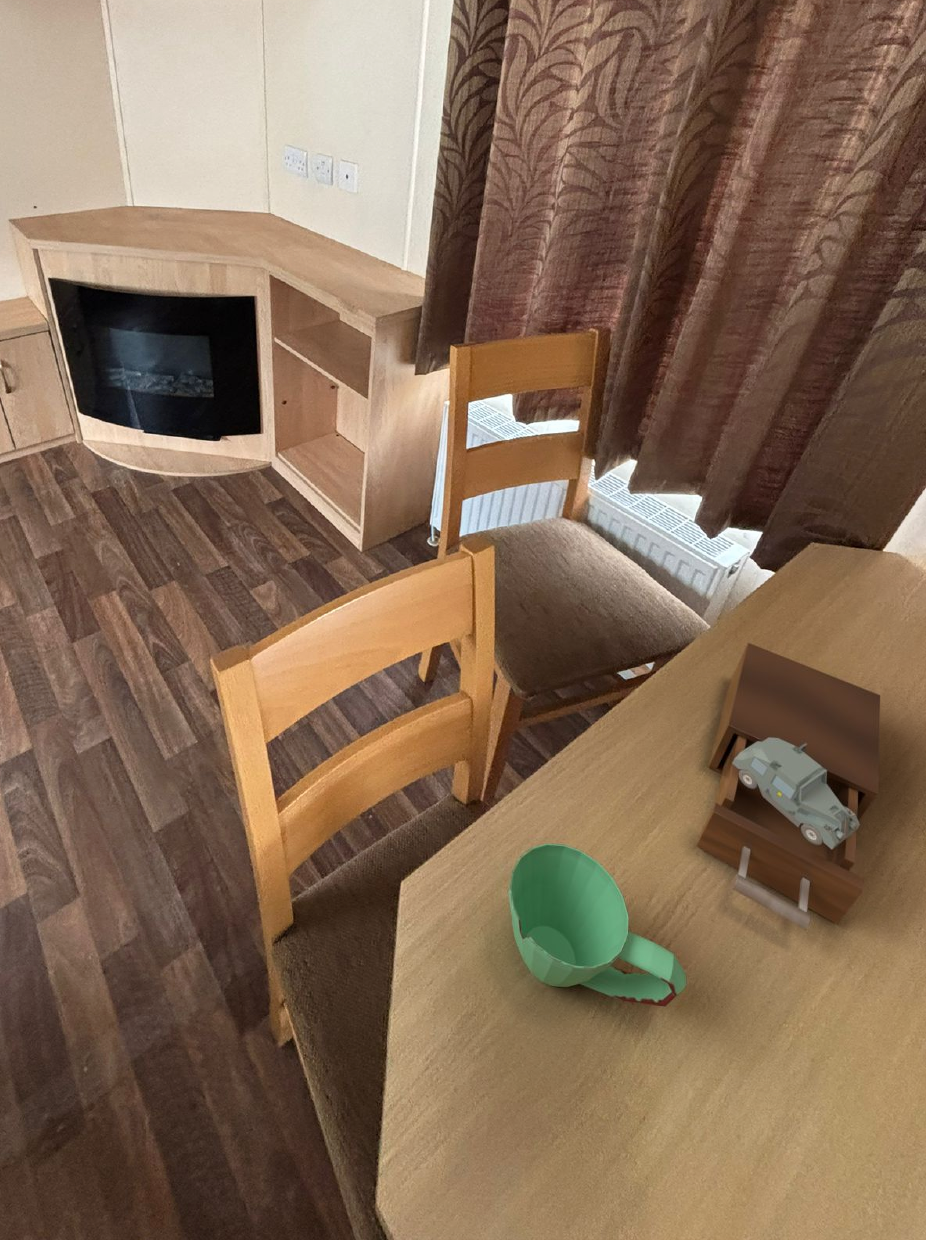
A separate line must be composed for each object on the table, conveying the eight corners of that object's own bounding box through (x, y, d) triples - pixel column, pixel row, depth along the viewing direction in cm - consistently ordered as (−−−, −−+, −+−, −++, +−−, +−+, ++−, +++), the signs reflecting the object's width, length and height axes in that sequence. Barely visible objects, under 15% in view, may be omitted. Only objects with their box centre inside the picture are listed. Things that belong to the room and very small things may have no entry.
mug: (480, 977, 62) (494, 923, 57) (513, 878, 69) (528, 822, 64) (652, 1087, 55) (685, 1038, 50) (669, 965, 63) (699, 911, 58)
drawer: (834, 972, 61) (862, 938, 58) (686, 886, 68) (704, 851, 64) (844, 811, 74) (868, 776, 71) (719, 751, 80) (735, 716, 77)
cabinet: (846, 838, 72) (878, 794, 68) (707, 769, 79) (728, 725, 75) (852, 739, 83) (880, 695, 78) (728, 685, 89) (748, 642, 85)
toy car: (826, 857, 64) (847, 826, 62) (728, 771, 72) (743, 740, 69) (863, 828, 67) (884, 796, 64) (764, 748, 74) (780, 717, 72)
